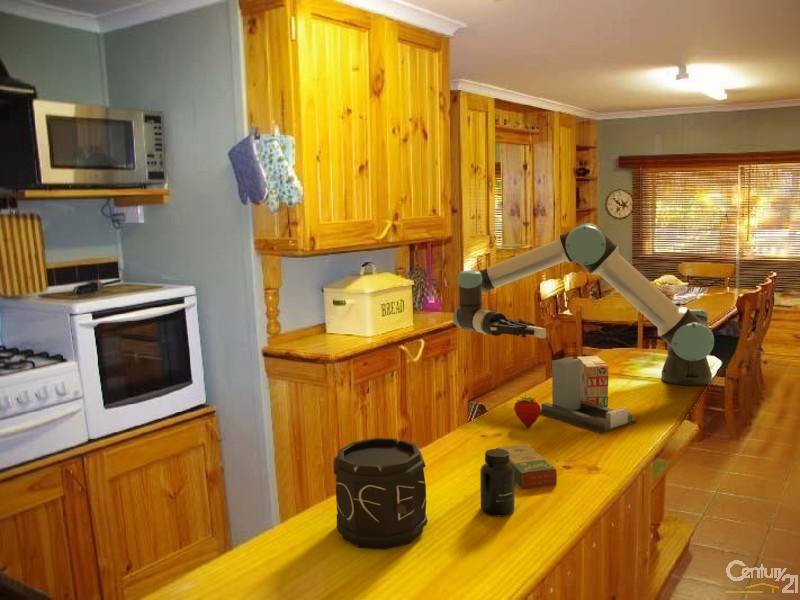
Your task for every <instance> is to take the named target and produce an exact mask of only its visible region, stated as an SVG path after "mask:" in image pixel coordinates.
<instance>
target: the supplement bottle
mask: <svg viewBox="0 0 800 600" xmlns="http://www.w3.org/2000/svg"><path fill="white" fill-rule="evenodd" d="M484 462H485V463H484V464H483V465H482V466H480V470H479V471H480V472H479V473H480V476H479V478H480V480H479V482H480V491H479V492H480V495H479V496H480V509H481V511H482V512H483V513H484V514H486V515H489V516H493V517H503V516H508V515H511V514H512V513H513V512H514V511H515V507H516V505H515V503H516V502H515V501H516V500H515V499H516V498H515V497H516V495H515V494H516V492H515V490H516V489H515V487H516V486H515V484H516V483H515V472H514V468H513V467H512V465H510V464H509V462H510V459H509V452H508V451H506V450H504V449H496V448H492V449H491V448H490V449H488V450H486V451H485V453H484Z"/></svg>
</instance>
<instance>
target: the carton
mask: <svg viewBox="0 0 800 600" xmlns="http://www.w3.org/2000/svg"><path fill="white" fill-rule="evenodd" d="M495 449H504V450H506V451H508V452H509V459H510V462H509V464H510V465H512V467H513V468H514V472H515V484H516V486H517V487H518V488H519V489H521V490H522V491H523V490H529V489H530V490H531V489H536V488H538V489H539V488H545V487H551V486H555V485H557V479H558V477H557V474H558V471H557V468H556V467H554V465H552V464H551V463H550V462H549V461H548V460H547V459H545V458H544V457H543V456H541V455H540V454H539V453H538V452H537V451H535V450H534V448H532V447H531V445H529V444H517V445H515V444H514V445H507V446H501V447H495Z"/></svg>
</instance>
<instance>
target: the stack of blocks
mask: <svg viewBox="0 0 800 600" xmlns="http://www.w3.org/2000/svg"><path fill="white" fill-rule="evenodd" d="M575 359H576V360H580V400H582V401H585V402H589V403H592V404H596V405H600V406H603V407H608V405H609V365H608V364H607V363H606V362H605V361H604V360H602V359H601V358H599V356H597V355H590V356H589V355H588V356H587V355H585V356H576V358H575Z"/></svg>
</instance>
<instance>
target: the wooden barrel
mask: <svg viewBox="0 0 800 600" xmlns="http://www.w3.org/2000/svg"><path fill="white" fill-rule="evenodd" d="M332 464H333V474H334V475H335V501H336V502H335V503H336V531H337V532H338V533H339V534H342V539H343V540H344V541H346V542H348V543H350V544H352V545H354V546H356V547H357V548H359V549H370V550H384V551H385V550H386V551H387V550H389V549H394V548H397V547H401V546H406V545H409V544H412V542H413V541H414V540H416V539H417V537H419V536H420V535H421V534H423V531H424V527H425V526H427V524H428V517H427V514H426V509H427V487H426V479H425V477H426V476H425V472H424V468H426V462H425V460H424V457H423V454H422V451H421V450H419V448H418V445H417V444H416V443H413V442H410V441H408V440H405V439H401V440H398V439H397V438H393V437H392V438H391V437H390V438H389V437H372V438H367V439H362V440H357V441H352V442H350V443H349V444H347V445H345V446H343V447H342V448H340V449H339V450H338V451H337V456H335V457H334V458H333V463H332Z"/></svg>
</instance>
